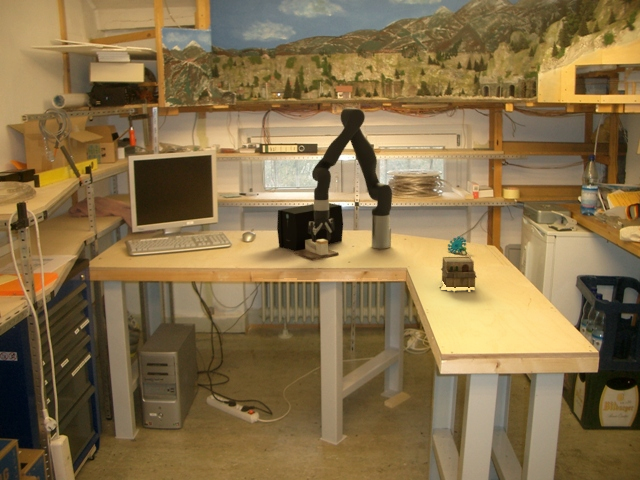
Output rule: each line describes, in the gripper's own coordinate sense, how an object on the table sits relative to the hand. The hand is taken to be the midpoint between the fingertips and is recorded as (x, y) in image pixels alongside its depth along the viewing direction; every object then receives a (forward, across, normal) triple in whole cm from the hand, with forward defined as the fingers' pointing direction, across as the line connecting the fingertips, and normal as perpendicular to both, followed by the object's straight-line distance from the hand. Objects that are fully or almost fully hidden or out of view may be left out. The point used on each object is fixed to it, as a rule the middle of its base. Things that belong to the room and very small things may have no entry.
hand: (321, 241), depth 300 cm
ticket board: (+8, 0, -5) cm, 10 cm away
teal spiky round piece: (+7, -59, +35) cm, 69 cm away
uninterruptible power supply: (+8, -10, -24) cm, 28 cm away
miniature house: (+8, -17, +73) cm, 75 cm away
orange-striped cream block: (+7, 0, 0) cm, 7 cm away
